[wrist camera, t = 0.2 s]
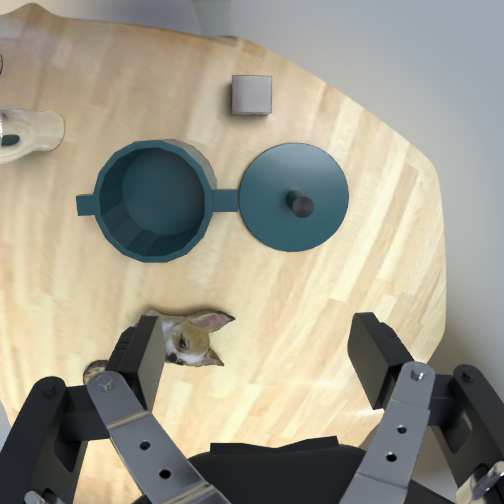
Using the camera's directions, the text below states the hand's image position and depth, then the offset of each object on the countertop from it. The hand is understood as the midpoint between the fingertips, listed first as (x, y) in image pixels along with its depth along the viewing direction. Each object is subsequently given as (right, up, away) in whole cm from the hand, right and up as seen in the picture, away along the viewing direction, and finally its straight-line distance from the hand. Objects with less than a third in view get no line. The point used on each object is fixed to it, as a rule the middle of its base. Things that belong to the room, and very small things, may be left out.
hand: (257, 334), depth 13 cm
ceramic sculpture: (-11, -8, +36) cm, 38 cm away
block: (-1, +23, +25) cm, 34 cm away
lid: (+5, +10, +29) cm, 31 cm away
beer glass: (-30, +21, +24) cm, 43 cm away
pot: (-12, +11, +28) cm, 33 cm away
